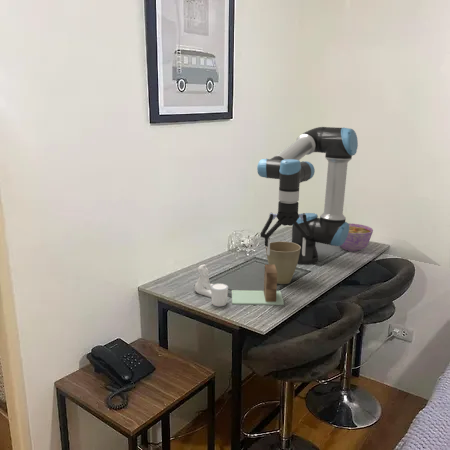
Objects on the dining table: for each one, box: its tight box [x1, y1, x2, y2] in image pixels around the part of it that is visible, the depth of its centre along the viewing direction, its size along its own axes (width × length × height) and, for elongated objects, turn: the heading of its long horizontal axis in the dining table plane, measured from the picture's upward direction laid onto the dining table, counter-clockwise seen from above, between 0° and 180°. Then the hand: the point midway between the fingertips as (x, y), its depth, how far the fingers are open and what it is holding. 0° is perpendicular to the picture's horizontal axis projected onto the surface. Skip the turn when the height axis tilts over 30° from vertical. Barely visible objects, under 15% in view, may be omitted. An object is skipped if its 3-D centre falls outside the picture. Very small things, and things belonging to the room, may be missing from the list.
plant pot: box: [265, 240, 301, 285], centre depth 197 cm, size 15×15×16 cm
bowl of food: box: [339, 222, 374, 252], centre depth 241 cm, size 20×20×12 cm
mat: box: [231, 289, 285, 306], centre depth 181 cm, size 20×12×1 cm, turn 90°
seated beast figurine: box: [194, 264, 214, 298], centre depth 184 cm, size 10×9×12 cm
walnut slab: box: [263, 264, 278, 302], centre depth 180 cm, size 4×9×12 cm, turn 0°
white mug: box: [210, 282, 229, 307], centre depth 175 cm, size 7×7×7 cm
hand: (285, 254), depth 177 cm, fingers open, 13 cm apart
